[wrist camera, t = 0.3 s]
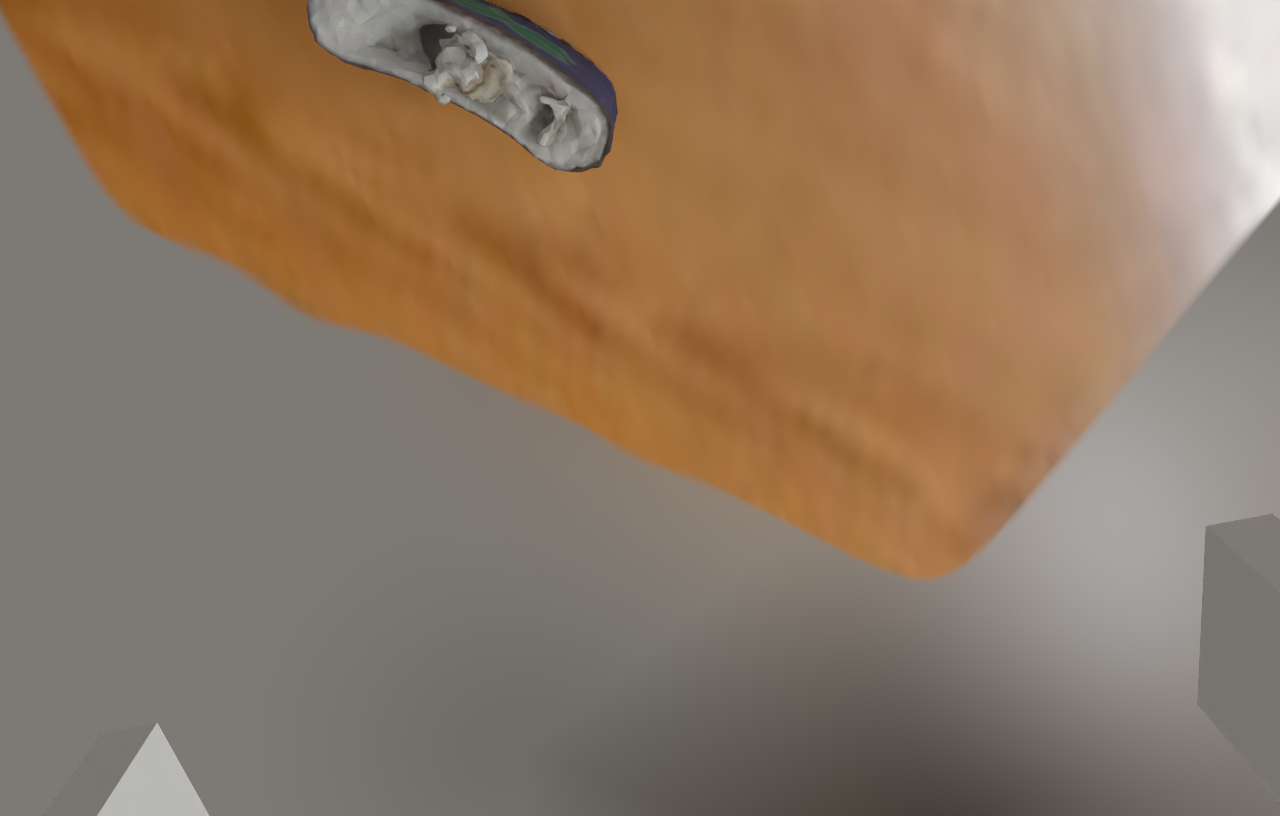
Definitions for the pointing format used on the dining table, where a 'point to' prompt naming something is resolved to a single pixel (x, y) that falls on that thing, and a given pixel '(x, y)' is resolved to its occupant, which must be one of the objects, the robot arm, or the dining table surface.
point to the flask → (481, 69)
